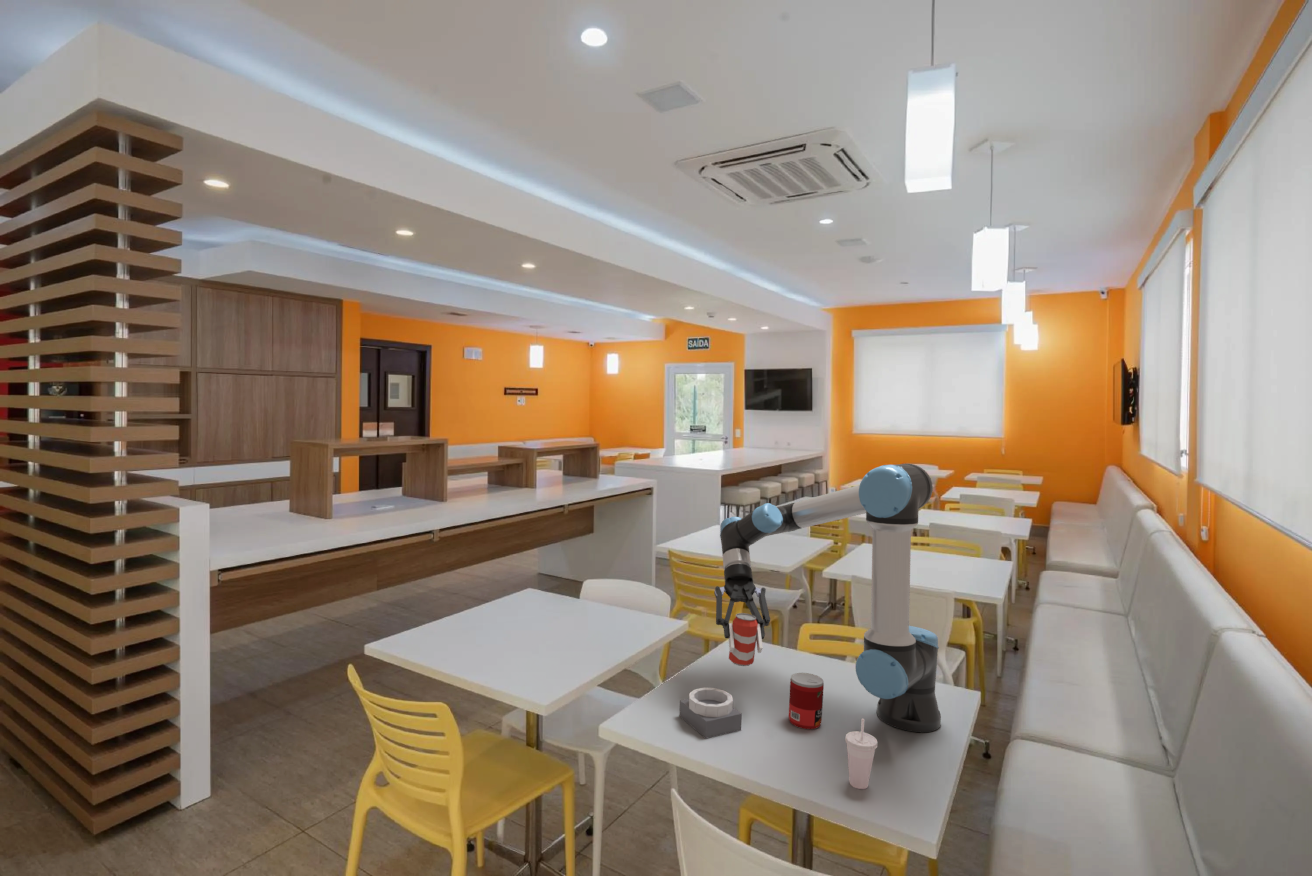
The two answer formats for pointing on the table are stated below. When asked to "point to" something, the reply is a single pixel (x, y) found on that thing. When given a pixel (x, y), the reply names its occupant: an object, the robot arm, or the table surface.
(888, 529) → the robot arm
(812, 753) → the table surface
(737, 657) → the beverage can
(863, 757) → the smoothie
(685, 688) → the table surface
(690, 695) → the mount
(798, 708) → the canned food
